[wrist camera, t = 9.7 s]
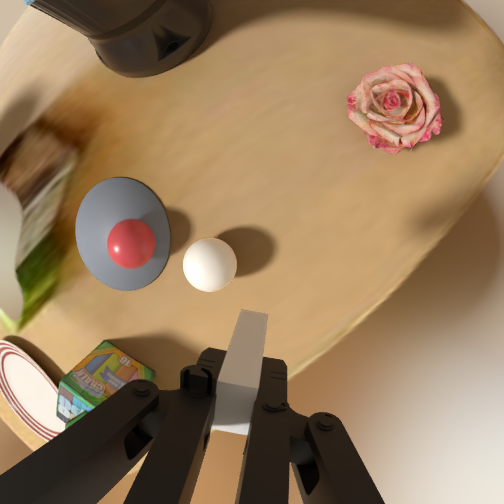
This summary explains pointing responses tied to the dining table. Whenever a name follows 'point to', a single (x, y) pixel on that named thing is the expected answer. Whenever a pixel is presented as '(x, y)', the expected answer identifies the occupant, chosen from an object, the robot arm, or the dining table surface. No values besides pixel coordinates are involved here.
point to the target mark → (106, 217)
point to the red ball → (131, 243)
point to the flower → (395, 108)
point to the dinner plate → (29, 391)
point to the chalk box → (96, 381)
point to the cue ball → (209, 264)
